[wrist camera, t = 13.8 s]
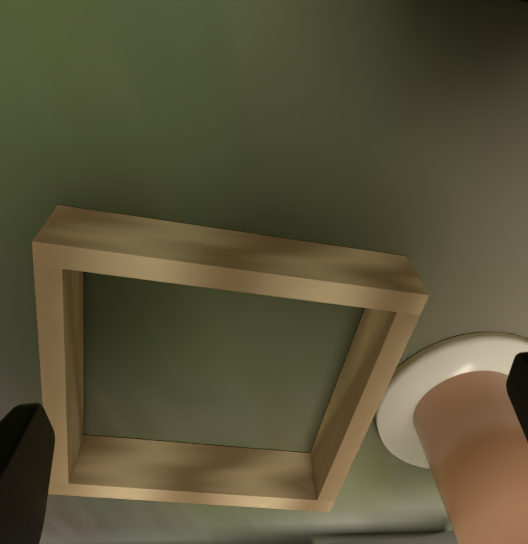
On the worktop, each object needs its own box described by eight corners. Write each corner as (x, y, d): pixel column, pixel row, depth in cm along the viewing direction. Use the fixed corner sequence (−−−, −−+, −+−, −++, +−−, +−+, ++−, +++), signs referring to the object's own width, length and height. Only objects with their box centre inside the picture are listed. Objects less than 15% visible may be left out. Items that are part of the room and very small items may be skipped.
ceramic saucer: (591, 343, 25) (601, 354, 25) (504, 463, 31) (510, 475, 30) (411, 321, 24) (416, 331, 23) (352, 451, 29) (355, 462, 29)
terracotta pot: (555, 371, 25) (771, 653, 15) (498, 454, 29) (642, 727, 19) (431, 359, 24) (573, 651, 14) (389, 446, 28) (478, 730, 18)
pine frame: (407, 256, 22) (429, 295, 19) (321, 464, 30) (330, 512, 27) (57, 204, 20) (31, 241, 17) (65, 444, 28) (48, 494, 25)
